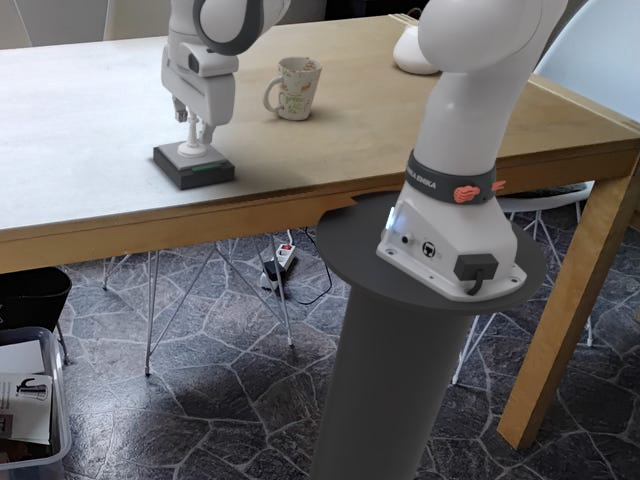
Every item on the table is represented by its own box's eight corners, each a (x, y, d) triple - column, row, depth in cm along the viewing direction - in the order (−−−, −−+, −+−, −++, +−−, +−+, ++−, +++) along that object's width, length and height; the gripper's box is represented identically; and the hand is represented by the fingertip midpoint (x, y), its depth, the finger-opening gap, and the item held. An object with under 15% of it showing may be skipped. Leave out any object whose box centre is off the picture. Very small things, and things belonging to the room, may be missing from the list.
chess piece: (201, 160, 123) (204, 101, 116) (173, 155, 124) (175, 97, 117) (209, 148, 126) (213, 90, 120) (182, 143, 127) (184, 86, 121)
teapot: (464, 82, 160) (478, 34, 153) (412, 85, 158) (423, 36, 151) (425, 52, 175) (436, 7, 168) (376, 54, 173) (385, 9, 166)
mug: (323, 117, 145) (331, 65, 138) (276, 131, 139) (282, 78, 133) (294, 103, 150) (301, 53, 143) (248, 116, 144) (252, 65, 138)
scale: (234, 179, 124) (235, 163, 122) (180, 189, 121) (181, 173, 119) (203, 151, 132) (204, 135, 130) (153, 160, 129) (153, 144, 127)
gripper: (152, 29, 120) (151, 111, 129) (206, 70, 106) (202, 159, 115) (186, 25, 122) (184, 106, 131) (245, 64, 107) (237, 152, 117)
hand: (192, 131), depth 123 cm, fingers open, 8 cm apart
